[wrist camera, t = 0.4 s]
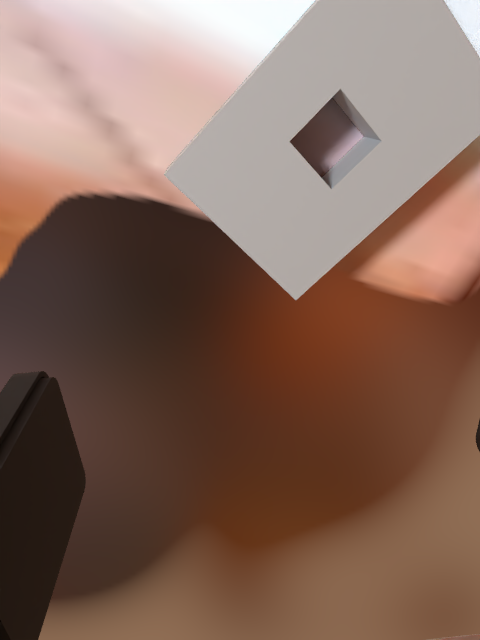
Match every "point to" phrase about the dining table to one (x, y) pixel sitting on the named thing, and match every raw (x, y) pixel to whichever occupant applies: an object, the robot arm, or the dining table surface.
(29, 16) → the dining table surface
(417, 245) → the dining table surface
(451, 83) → the grey block with hole
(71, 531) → the robot arm
